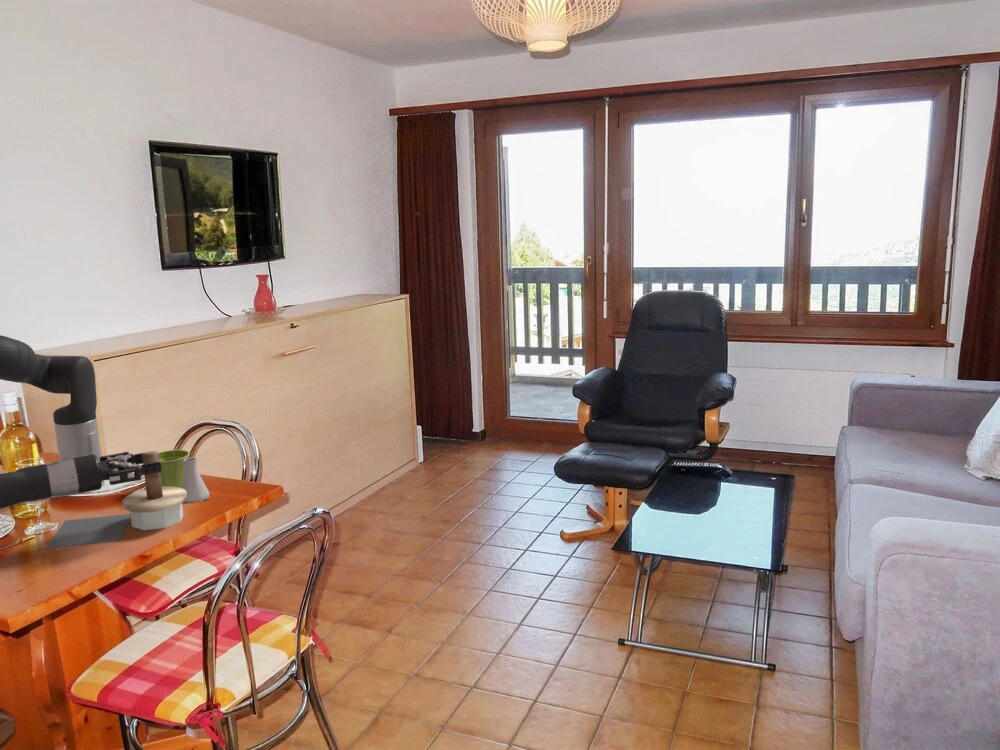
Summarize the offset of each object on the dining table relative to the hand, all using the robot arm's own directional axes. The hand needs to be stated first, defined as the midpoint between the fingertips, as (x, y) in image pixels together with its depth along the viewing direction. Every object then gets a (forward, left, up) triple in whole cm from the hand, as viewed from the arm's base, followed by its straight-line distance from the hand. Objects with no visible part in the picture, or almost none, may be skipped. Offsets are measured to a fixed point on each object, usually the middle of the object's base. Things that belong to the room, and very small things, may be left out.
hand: (156, 461), depth 171 cm
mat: (+2, -14, -14) cm, 20 cm away
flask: (-13, +5, -14) cm, 20 cm away
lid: (0, -1, -9) cm, 9 cm away
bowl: (0, -1, -14) cm, 14 cm away
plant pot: (-22, -1, -14) cm, 26 cm away
